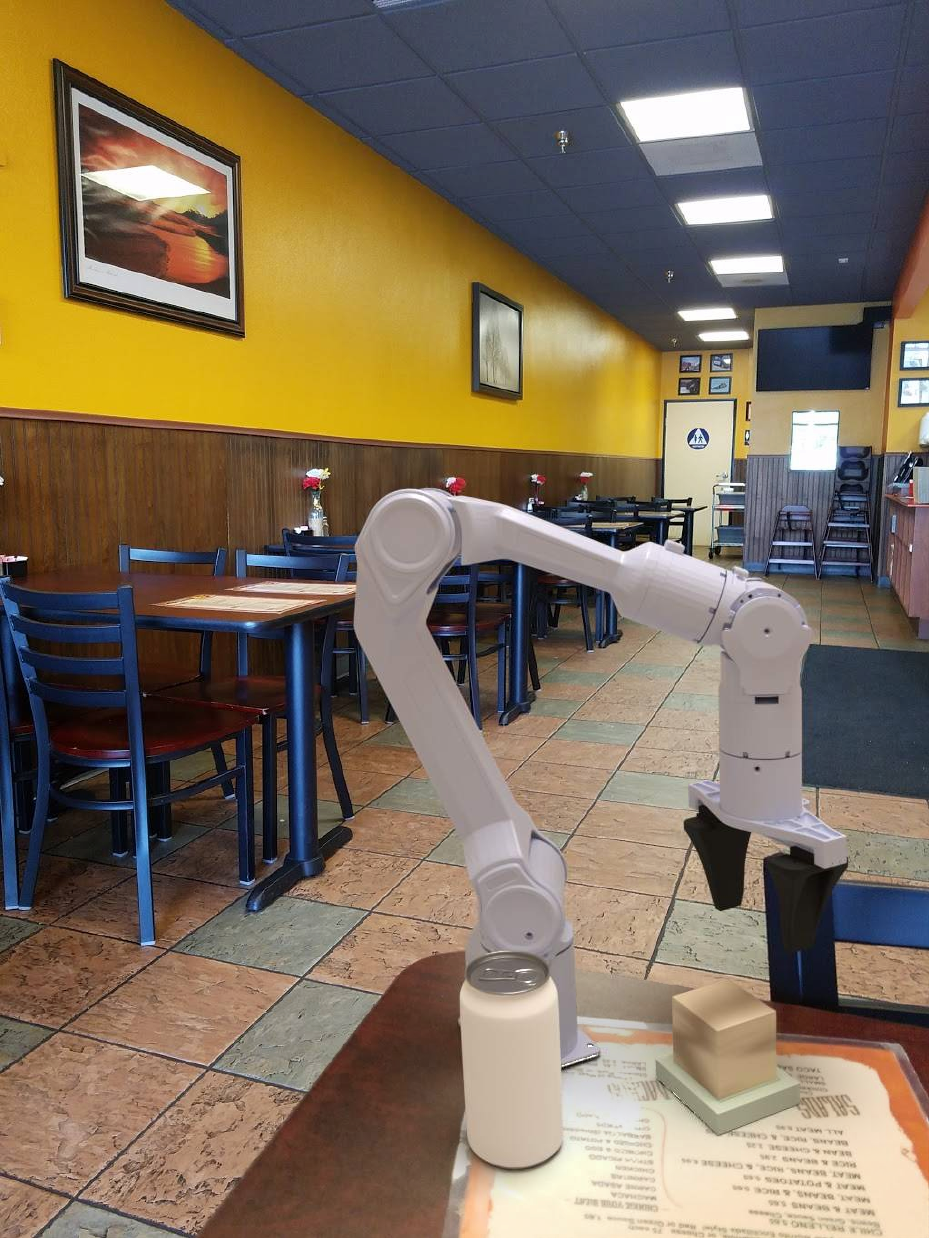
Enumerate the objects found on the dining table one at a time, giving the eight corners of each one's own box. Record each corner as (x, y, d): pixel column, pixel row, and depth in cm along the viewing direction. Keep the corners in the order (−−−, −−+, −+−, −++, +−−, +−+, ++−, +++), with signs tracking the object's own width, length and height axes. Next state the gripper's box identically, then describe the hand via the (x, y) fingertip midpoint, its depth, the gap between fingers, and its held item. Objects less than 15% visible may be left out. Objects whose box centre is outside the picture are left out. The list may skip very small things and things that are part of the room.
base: (656, 1077, 69) (655, 1058, 69) (732, 1050, 72) (732, 1031, 72) (718, 1135, 63) (717, 1113, 63) (800, 1103, 66) (799, 1082, 66)
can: (558, 1178, 60) (551, 999, 58) (458, 1168, 61) (448, 993, 60) (568, 1111, 66) (561, 949, 65) (477, 1104, 68) (468, 944, 66)
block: (673, 1061, 69) (672, 996, 68) (729, 1041, 71) (728, 978, 70) (718, 1100, 64) (717, 1031, 63) (776, 1078, 66) (776, 1011, 65)
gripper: (881, 764, 64) (879, 954, 66) (737, 720, 77) (739, 880, 79) (800, 782, 61) (800, 980, 63) (665, 733, 74) (669, 899, 76)
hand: (761, 926), depth 71 cm, fingers open, 7 cm apart
